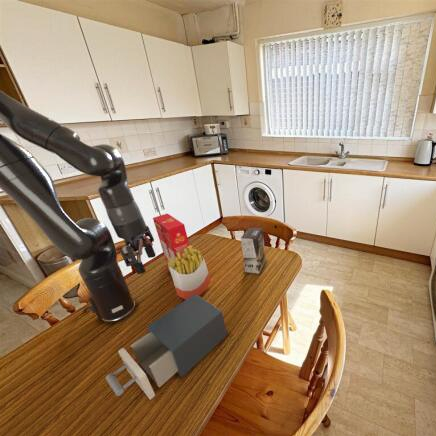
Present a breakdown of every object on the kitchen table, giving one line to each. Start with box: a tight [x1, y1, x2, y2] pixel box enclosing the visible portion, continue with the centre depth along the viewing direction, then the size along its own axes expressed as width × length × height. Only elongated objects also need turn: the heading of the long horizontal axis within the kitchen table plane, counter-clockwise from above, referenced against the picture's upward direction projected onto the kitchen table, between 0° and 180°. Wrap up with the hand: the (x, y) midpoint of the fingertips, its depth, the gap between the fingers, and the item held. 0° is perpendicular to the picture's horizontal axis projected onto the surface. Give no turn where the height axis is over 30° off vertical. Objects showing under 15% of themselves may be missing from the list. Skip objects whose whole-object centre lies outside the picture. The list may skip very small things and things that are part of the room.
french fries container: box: [168, 244, 211, 301], centre depth 83 cm, size 5×11×18 cm, turn 148°
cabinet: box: [146, 294, 228, 378], centre depth 66 cm, size 15×13×10 cm
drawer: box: [105, 332, 178, 401], centre depth 59 cm, size 18×11×8 cm, turn 144°
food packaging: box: [152, 213, 190, 274], centre depth 90 cm, size 15×5×25 cm, turn 47°
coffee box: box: [240, 227, 267, 275], centre depth 97 cm, size 9×6×16 cm
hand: (147, 264), depth 74 cm, fingers open, 8 cm apart
